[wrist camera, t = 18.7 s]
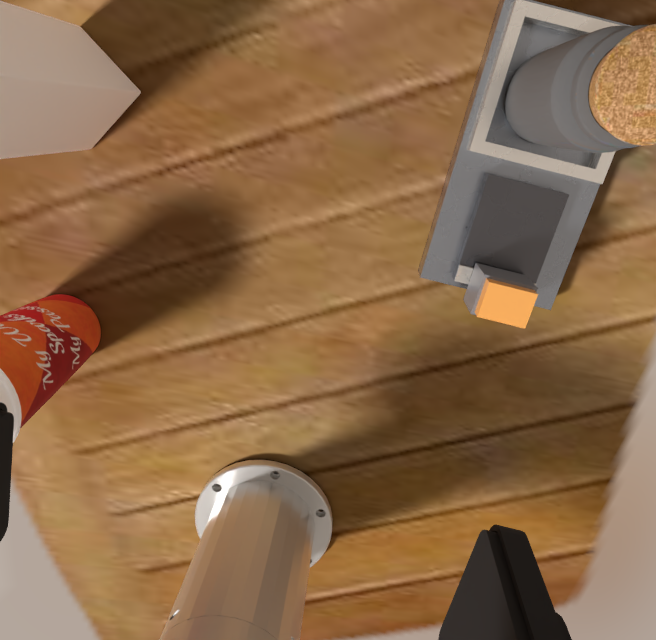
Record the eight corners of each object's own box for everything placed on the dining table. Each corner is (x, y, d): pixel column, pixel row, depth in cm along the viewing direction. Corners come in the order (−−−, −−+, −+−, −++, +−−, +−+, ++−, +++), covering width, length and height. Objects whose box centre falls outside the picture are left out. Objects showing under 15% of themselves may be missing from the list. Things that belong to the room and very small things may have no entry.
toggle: (511, 311, 41) (526, 332, 37) (463, 299, 41) (473, 318, 37) (525, 275, 40) (542, 292, 36) (475, 262, 40) (487, 278, 36)
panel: (542, 301, 44) (556, 316, 41) (418, 270, 44) (421, 282, 41) (645, 37, 38) (671, 29, 34) (499, -1, 38) (512, -12, 34)
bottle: (610, 66, 37) (759, 32, 23) (571, 156, 39) (685, 177, 25) (524, 37, 37) (621, -15, 22) (489, 129, 38) (557, 135, 24)
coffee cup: (132, 320, 47) (31, 405, 33) (85, 389, 50) (-28, 496, 36) (45, 259, 46) (-100, 320, 32) (1, 333, 48) (-151, 421, 34)
